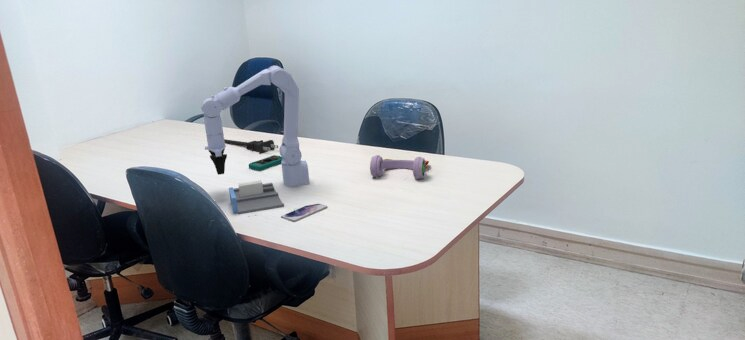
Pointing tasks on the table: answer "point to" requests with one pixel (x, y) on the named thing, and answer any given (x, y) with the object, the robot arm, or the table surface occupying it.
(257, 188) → the light grey long block
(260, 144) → the electrical plug
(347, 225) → the table surface
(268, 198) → the board
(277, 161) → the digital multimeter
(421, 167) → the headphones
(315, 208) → the smartphone
